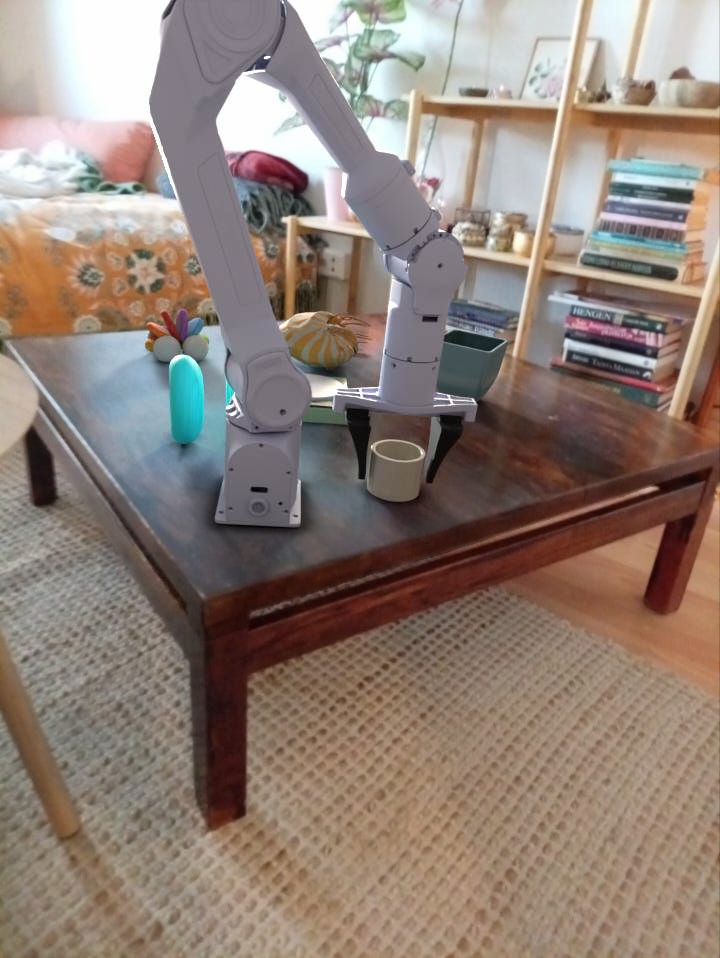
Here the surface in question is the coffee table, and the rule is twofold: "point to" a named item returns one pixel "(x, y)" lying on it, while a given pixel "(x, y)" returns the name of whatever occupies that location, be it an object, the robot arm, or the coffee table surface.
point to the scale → (324, 400)
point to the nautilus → (321, 339)
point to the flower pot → (469, 363)
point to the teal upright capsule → (187, 399)
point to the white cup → (395, 470)
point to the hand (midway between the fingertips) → (394, 477)
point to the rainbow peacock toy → (177, 337)
